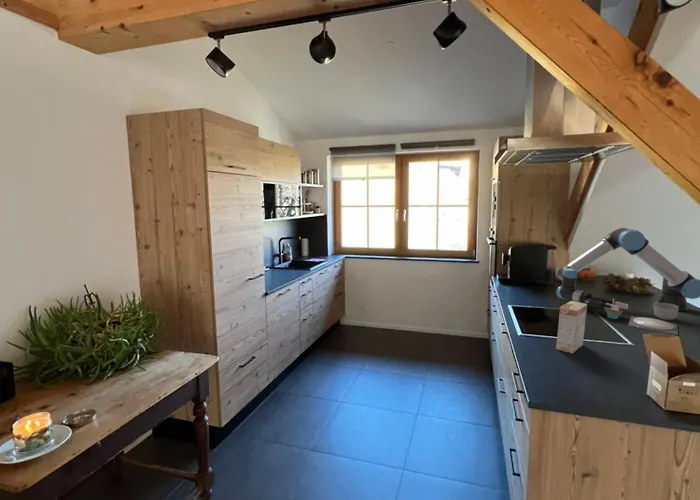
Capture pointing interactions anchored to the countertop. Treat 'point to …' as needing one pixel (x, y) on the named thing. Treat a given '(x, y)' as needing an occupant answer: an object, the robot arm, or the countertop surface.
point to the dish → (653, 325)
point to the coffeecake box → (571, 326)
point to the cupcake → (613, 312)
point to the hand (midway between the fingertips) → (622, 307)
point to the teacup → (665, 311)
